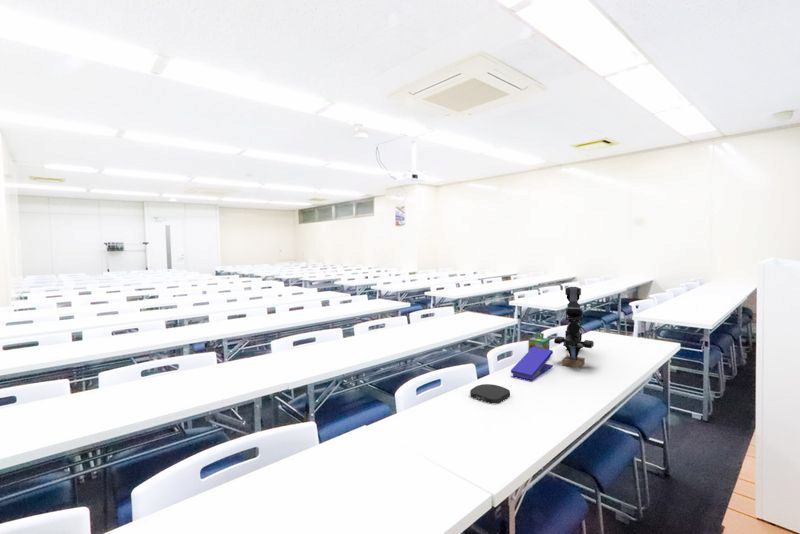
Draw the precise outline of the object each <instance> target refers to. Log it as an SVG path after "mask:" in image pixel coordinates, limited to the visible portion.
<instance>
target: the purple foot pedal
mask: <svg viewBox="0 0 800 534" xmlns="http://www.w3.org/2000/svg"><path fill="white" fill-rule="evenodd" d="M553 353H554V351H553V349H552V350H551V349H549V350H547V349H541V348H536V347H533V348H532V349H531V350H530V351H529V352H527V353H526V354H525V355H523V357H522V358H521V359H520V360H519V361H518V362H517V363H516V364H515V365H514V366H513V367H512V368H511V369H510V373H511V374H512V378H515V377H517V378H516V379H519V378H521V379H520V380H524V379H525V381H528V380H529V382H534V381H535V380H537V378H539V377H540V376H542V375H543V374H545V373H546V372H548V371H549V370H550V369H552V368H553V366H554V364H549V363H547V362H548V361H549V359H551V357H552V355H553Z"/></svg>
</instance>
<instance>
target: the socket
mask: <svg viewBox="0 0 800 534" xmlns="http://www.w3.org/2000/svg"><path fill="white" fill-rule="evenodd" d="M585 360H586V359H585V357H580V356H578V357H577V358H576V360H573V359H571V357H570V355H569V354H567V355H566V356H565V357H563V358H562V365H561V366H562V367H566V368H567V367H568V368H573V369H579V370H580V369H582V368H583V367H584V366H585Z"/></svg>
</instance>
